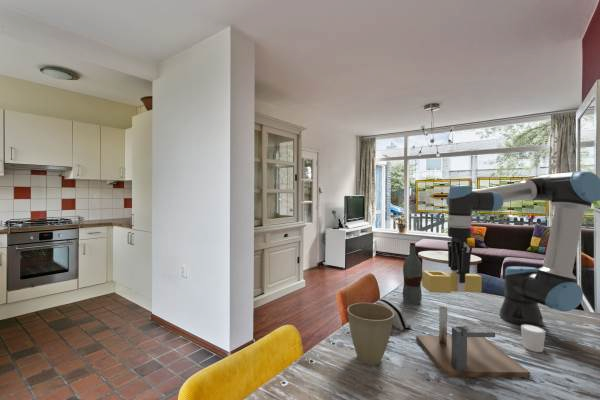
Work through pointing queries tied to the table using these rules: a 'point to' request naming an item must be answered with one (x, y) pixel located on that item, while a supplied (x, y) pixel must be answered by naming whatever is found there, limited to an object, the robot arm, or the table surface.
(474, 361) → the board
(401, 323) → the white d-shaped block
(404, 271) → the bottle
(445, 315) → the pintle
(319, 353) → the table surface
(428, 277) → the link
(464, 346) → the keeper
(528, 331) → the white cylinder
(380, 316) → the plant pot
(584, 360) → the table surface
